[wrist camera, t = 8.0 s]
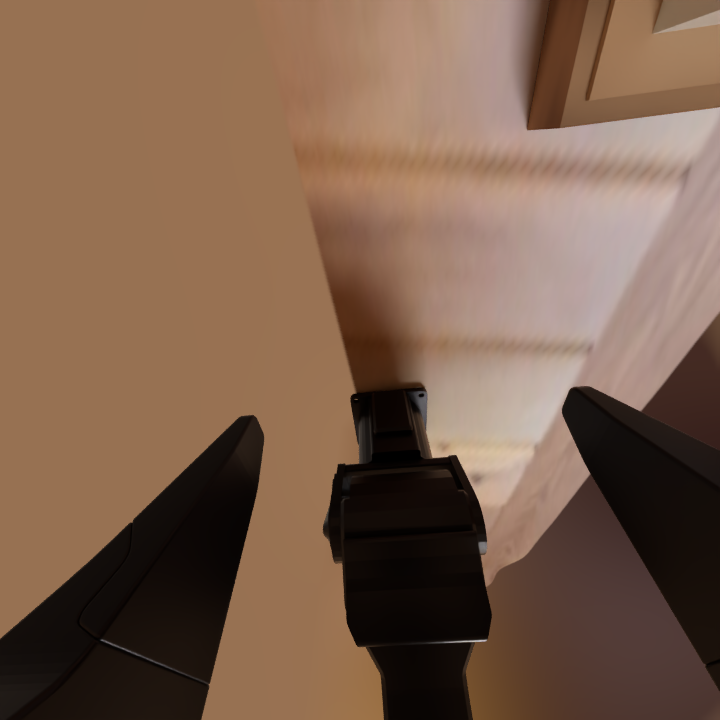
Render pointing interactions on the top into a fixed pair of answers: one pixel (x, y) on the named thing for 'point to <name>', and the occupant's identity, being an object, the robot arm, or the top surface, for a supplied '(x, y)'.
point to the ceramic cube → (687, 15)
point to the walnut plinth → (620, 65)
